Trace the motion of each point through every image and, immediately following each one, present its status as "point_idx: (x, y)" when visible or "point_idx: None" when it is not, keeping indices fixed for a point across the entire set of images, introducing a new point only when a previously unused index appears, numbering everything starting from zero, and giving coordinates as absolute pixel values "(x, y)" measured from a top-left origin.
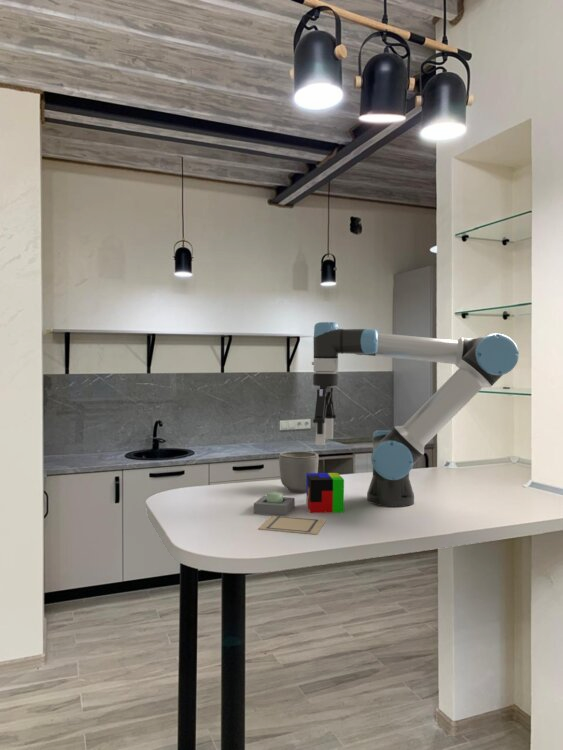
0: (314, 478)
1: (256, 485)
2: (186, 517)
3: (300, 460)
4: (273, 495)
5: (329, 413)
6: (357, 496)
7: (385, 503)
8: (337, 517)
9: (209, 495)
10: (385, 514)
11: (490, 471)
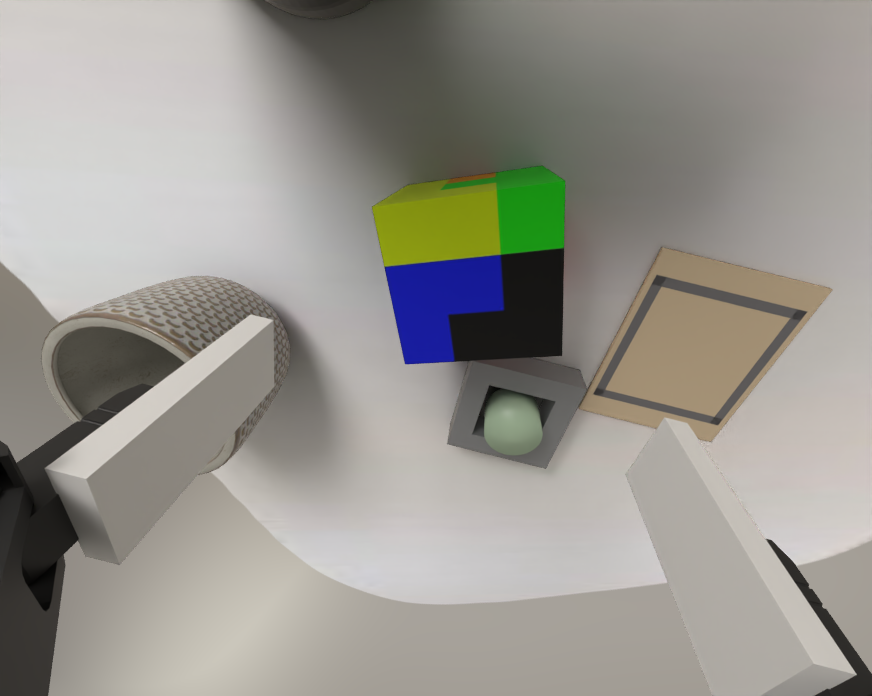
0: (528, 338)
1: None
2: (568, 560)
3: None
4: (540, 438)
5: (21, 622)
6: (256, 71)
7: None
8: (617, 197)
9: (365, 527)
10: None
11: None
